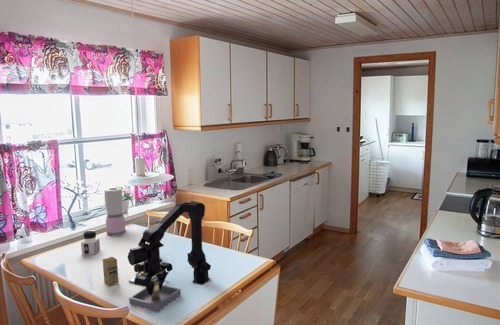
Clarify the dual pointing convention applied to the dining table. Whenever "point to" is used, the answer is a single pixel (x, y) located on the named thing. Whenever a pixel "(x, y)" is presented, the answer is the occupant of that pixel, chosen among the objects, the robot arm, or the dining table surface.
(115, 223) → the blender
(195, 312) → the dining table surface
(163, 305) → the tray
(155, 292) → the gold cylinder with rim
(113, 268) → the shoe polish box
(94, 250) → the container
